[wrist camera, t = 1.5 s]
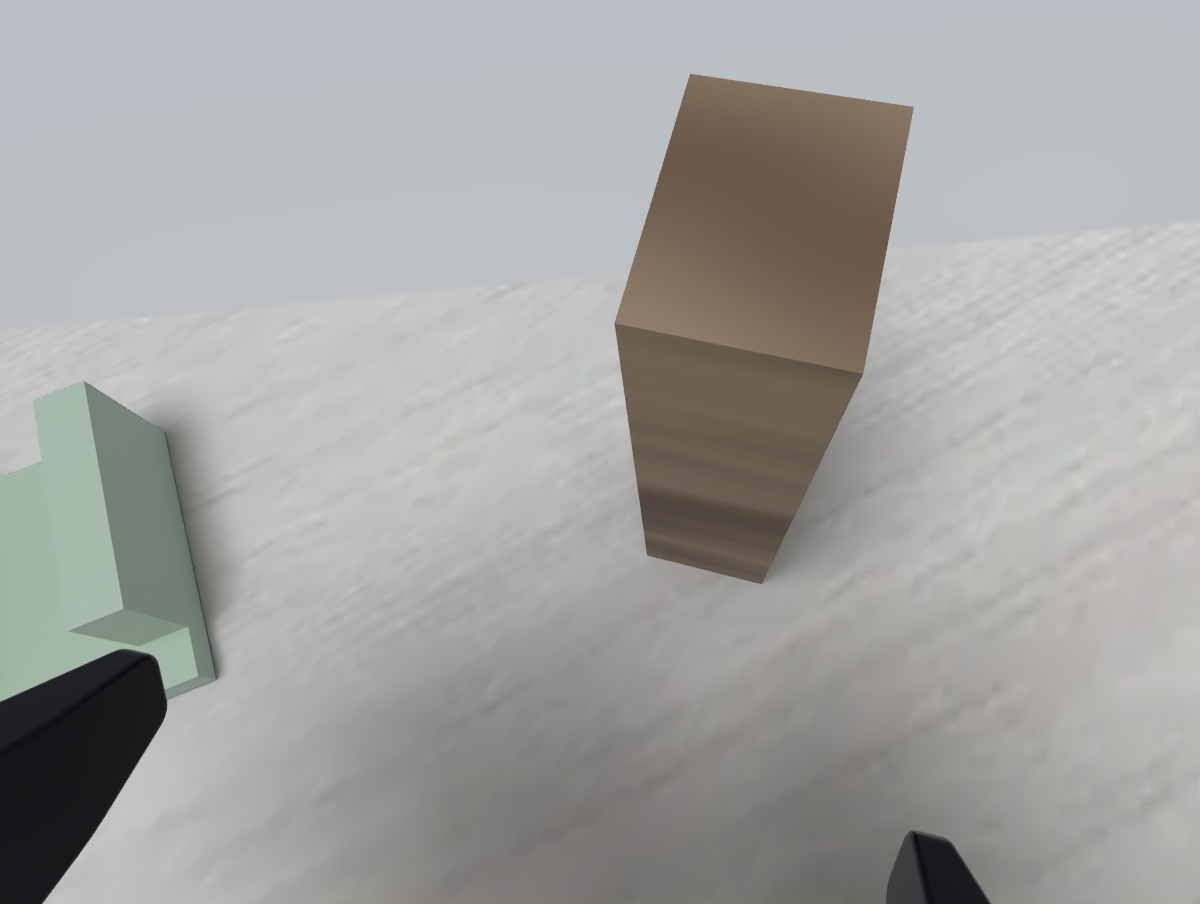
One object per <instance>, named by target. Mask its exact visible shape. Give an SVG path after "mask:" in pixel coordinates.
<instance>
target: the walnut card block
mask: <svg viewBox="0 0 1200 904" xmlns="http://www.w3.org/2000/svg"><path fill="white" fill-rule="evenodd" d="M912 114H913V107H909V106H903V105H896V104H890V103H883V102H876V101H869V100H863V99H855V98H849V97H842V96H835V95H829V94H822V93H815V92H808V91H802V90H795V89H788V88H782V87H775V86H768V85H761V84H754V83H747V82H741V81H734V80H727V79H720V78H714V77H707V76H701V75H694V74H690V76H689V79H688V83H687V86H686V89H685V93H684V96H683V99H682V103H681V106H680V109H679V112H678V116H677V119H676V122H675V126H674V129H673V132H672V136H671V139H670V142H669V145H668V149H667V152H666V155H665V159H664V162H663V166H662V169H661V172H660V175H659V179H658V182H657V185H656V188H655V192H654V195H653V198H652V202H651V205H650V208H649V211H648V215H647V218H646V221H645V225H644V228H643V231H642V235H641V238H640V241H639V245H638V248H637V251H636V254H635V258H634V261H633V264H632V268H631V271H630V274H629V277H628V281H627V284H626V287H625V291H624V294H623V297H622V301H621V304H620V307H619V310H618V314H617V317H616V320H615V329H616V336H617V344H618V351H619V358H620V365H621V372H622V379H623V386H624V393H625V400H626V407H627V415H628V422H629V429H630V436H631V443H632V450H633V457H634V464H635V471H636V478H637V486H638V493H639V500H640V507H641V514H642V521H643V528H644V535H645V542H646V550H647V555H649V556H652V557H656V558H660V559H664V560H668V561H672V562H676V563H680V564H684V565H688V566H692V567H696V568H700V569H704V570H708V571H712V572H716V573H720V574H724V575H728V576H732V577H736V578H740V579H744V580H748V581H752V582H756V583H760V584H761V583H762V581H763V579H764V577H765V575H766V573H767V571H768V569H769V567H770V565H771V563H772V561H773V559H774V556H775V554H776V552H777V550H778V548H779V546H780V544H781V542H782V540H783V538H784V536H785V534H786V532H787V530H788V528H789V525H790V523H791V521H792V519H793V517H794V515H795V513H796V511H797V509H798V507H799V505H800V503H801V501H802V499H803V497H804V495H805V492H806V490H807V488H808V486H809V484H810V482H811V480H812V478H813V476H814V474H815V472H816V470H817V468H818V466H819V464H820V462H821V459H822V457H823V455H824V453H825V451H826V449H827V447H828V445H829V443H830V441H831V439H832V437H833V435H834V433H835V431H836V429H837V426H838V424H839V422H840V420H841V418H842V416H843V414H844V412H845V410H846V408H847V406H848V404H849V402H850V400H851V398H852V396H853V393H854V391H855V389H856V387H857V385H858V383H859V381H860V379H861V377H862V375H863V371H864V366H865V361H866V356H867V350H868V345H869V340H870V334H871V329H872V324H873V319H874V313H875V308H876V303H877V298H878V292H879V287H880V282H881V277H882V271H883V266H884V261H885V256H886V250H887V245H888V240H889V235H890V229H891V224H892V219H893V213H894V208H895V203H896V197H897V192H898V187H899V182H900V177H901V171H902V166H903V161H904V156H905V150H906V145H907V140H908V135H909V129H910V124H911V119H912Z"/></svg>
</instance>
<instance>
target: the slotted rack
mask: <svg viewBox="0 0 1200 904" xmlns="http://www.w3.org/2000/svg"><path fill="white" fill-rule="evenodd" d="M33 403H34V410H35V416H36V423H37V430H38V437H39V444H40V450H41V457H42V461H41V462H39V463H36V464H34V465H31V466H28V467H26V468H23V469H21V470H18V471H15V472H13V473H10V474H8V475H5V476H2V477H0V701H3V700H5V699H7V698H9V697H12V696H14V695H16V694H18V693H21V692H23V691H25V690H28V689H30V688H32V687H34V686H37V685H39V684H41V683H43V682H46V681H48V680H50V679H52V678H55V677H57V676H59V675H61V674H64V673H66V672H68V671H70V670H73V669H75V668H77V667H79V666H82V665H84V664H86V663H88V662H91V661H93V660H95V659H97V658H100V657H102V656H104V655H107V654H109V653H111V652H113V651H116V650H119V649H131V650H136V651H140V652H144V653H149V654H151V655H153V656H154V657H155V658H156V659H157V660H158V663H159V667H160V671H161V676H162V680H163V684H164V689H165V693H166V698H167V699H169V698H172V697H174V696H177V695H179V694H182V693H184V692H187V691H189V690H191V689H194V688H196V687H199V686H201V685H204V684H206V683H209V682H211V681H214V680H216V675H215V670H214V665H213V661H212V656H211V651H210V646H209V642H208V637H207V632H206V627H205V623H204V618H203V613H202V608H201V604H200V599H199V594H198V589H197V585H196V580H195V575H194V570H193V565H192V561H191V556H190V551H189V546H188V542H187V537H186V532H185V527H184V523H183V518H182V513H181V508H180V504H179V499H178V494H177V489H176V485H175V480H174V475H173V470H172V465H171V461H170V456H169V451H168V446H167V442H166V437H165V432H163V431H161V430H160V429H158V428H157V427H155V426H154V425H152V424H151V423H149V422H147V421H146V420H144V419H143V418H141V417H140V416H138V415H136V414H135V413H133V412H132V411H130V410H129V409H127V408H126V407H124V406H122V405H121V404H119V403H118V402H116V401H115V400H113V399H111V398H110V397H108V396H107V395H105V394H104V393H102V392H101V391H99V390H97V389H96V388H94V387H93V386H91V385H90V384H88V383H87V382H85V381H82V382H79V383H77V384H74V385H71V386H69V387H66V388H64V389H61V390H58V391H56V392H53V393H50V394H48V395H45V396H43V397H40V398H37V399H35V400H33Z"/></svg>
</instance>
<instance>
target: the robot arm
mask: <svg viewBox="0 0 1200 904" xmlns="http://www.w3.org/2000/svg"><path fill="white" fill-rule="evenodd" d="M166 711H167V698H166V693H165V689H164V684H163V680H162V676H161V671H160V667H159V663H158V660H157V659H156V658H155V657H154V656H153V655H151V654H149V653H144V652H140V651H136V650H131V649H119V650H116V651H113V652H111V653H109V654H107V655H104V656H102V657H100V658H97V659H95V660H93V661H91V662H88V663H86V664H84V665H82V666H79V667H77V668H75V669H73V670H70V671H68V672H66V673H64V674H61V675H59V676H57V677H55V678H52V679H50V680H48V681H46V682H43V683H41V684H39V685H37V686H34V687H32V688H30V689H28V690H25V691H23V692H21V693H18V694H16V695H14V696H12V697H9V698H7V699H5V700H3V701H0V904H42V903H43V902H44V901H45V899H46V898H47V897H48V895H49V894H50V893H51V891H52V890H53V889H54V887H55V886H56V885H57V883H58V882H59V881H60V879H61V878H62V877H63V875H64V874H65V873H66V871H67V870H68V869H69V867H70V866H71V865H72V863H73V862H74V861H75V859H76V858H77V857H78V855H79V854H80V852H81V851H82V850H83V848H84V847H85V845H86V844H87V843H88V841H89V840H90V838H91V837H92V836H93V834H94V833H95V831H96V829H97V828H98V826H99V825H100V823H101V822H102V820H103V819H104V817H105V816H106V814H107V812H108V811H109V809H110V808H111V806H112V804H113V803H114V801H115V799H116V798H117V796H118V794H119V793H120V791H121V790H122V788H123V786H124V785H125V783H126V781H127V780H128V778H129V777H130V775H131V773H132V772H133V770H134V768H135V767H136V765H137V764H138V762H139V760H140V759H141V757H142V755H143V754H144V752H145V751H146V749H147V747H148V746H149V744H150V742H151V741H152V739H153V737H154V736H155V734H156V733H157V731H158V729H159V728H160V726H161V724H162V722H163V720H164V718H165V715H166ZM886 904H991V903H990V901H989V900H988V898H987V897H986V895H985V893H984V892H983V890H982V889H981V887H980V886H979V884H978V883H977V881H976V879H975V878H974V876H973V875H972V873H971V872H970V870H969V868H968V867H967V865H966V864H965V862H964V861H963V859H962V858H961V856H960V854H959V853H958V851H957V850H956V848H955V847H954V845H953V844H952V843H951V842H950V841H949V840H948V839H946V838H944V837H940V836H936V835H932V834H928V833H923V832H919V831H910V832H909V833H908V834H907V835H906V836H905V838H904V841H903V843H902V846H901V849H900V851H899V854H898V856H897V859H896V862H895V864H894V867H893V869H892V872H891V875H890V878H889V882H888V887H887V898H886Z"/></svg>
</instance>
